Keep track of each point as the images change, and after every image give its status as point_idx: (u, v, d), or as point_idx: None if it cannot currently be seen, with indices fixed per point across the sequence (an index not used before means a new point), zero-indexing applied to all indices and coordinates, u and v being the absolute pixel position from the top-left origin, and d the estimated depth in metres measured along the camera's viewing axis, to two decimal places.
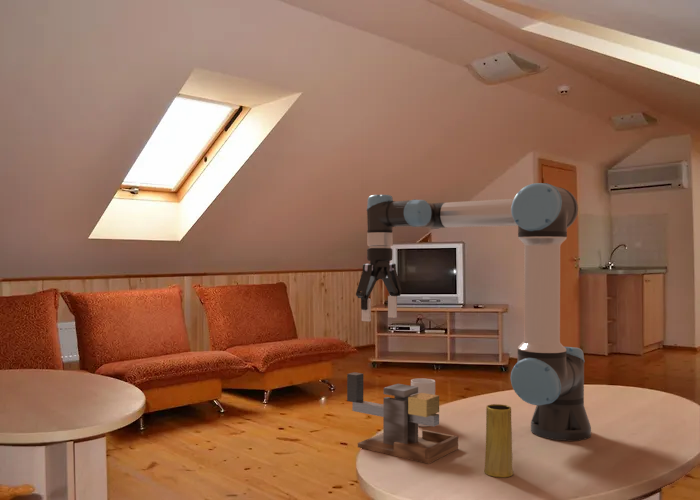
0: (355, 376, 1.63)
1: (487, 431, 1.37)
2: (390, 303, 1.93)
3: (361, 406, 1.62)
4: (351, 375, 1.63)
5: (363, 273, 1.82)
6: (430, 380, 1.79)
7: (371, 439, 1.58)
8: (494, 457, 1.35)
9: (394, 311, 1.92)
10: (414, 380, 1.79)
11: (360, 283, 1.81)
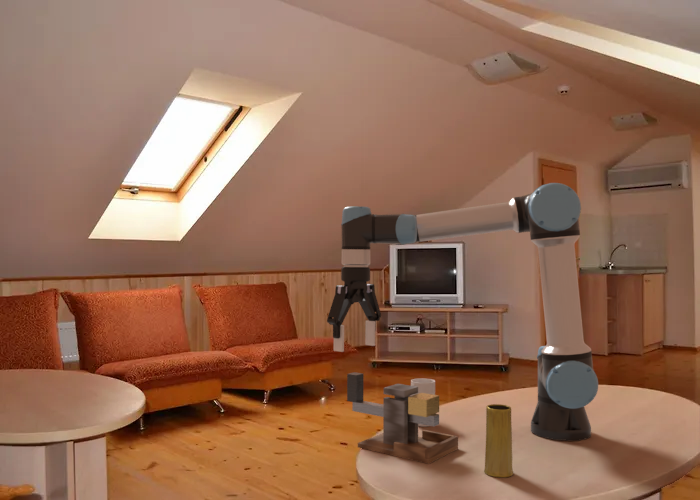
0: (355, 376, 1.63)
1: (487, 431, 1.37)
2: (368, 328, 1.70)
3: (361, 406, 1.62)
4: (351, 375, 1.63)
5: (336, 296, 1.59)
6: (430, 380, 1.79)
7: (371, 439, 1.58)
8: (494, 457, 1.35)
9: (372, 338, 1.69)
10: (414, 380, 1.79)
11: (332, 308, 1.58)
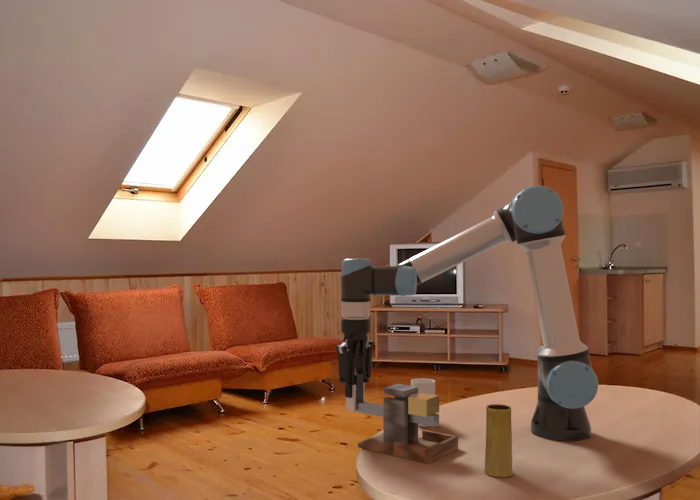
0: (355, 376, 1.63)
1: (487, 431, 1.37)
2: None
3: (361, 406, 1.62)
4: None
5: (339, 357, 1.60)
6: (430, 380, 1.79)
7: (371, 439, 1.58)
8: (493, 457, 1.35)
9: None
10: (414, 380, 1.79)
11: (340, 369, 1.61)
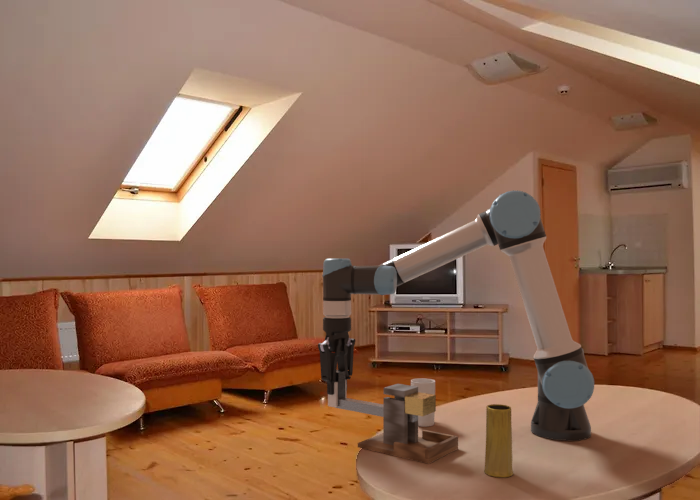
0: (337, 373, 1.66)
1: (487, 431, 1.37)
2: None
3: (343, 402, 1.65)
4: None
5: (321, 354, 1.64)
6: (430, 380, 1.79)
7: (371, 439, 1.58)
8: (494, 457, 1.35)
9: None
10: (414, 380, 1.79)
11: (322, 366, 1.64)
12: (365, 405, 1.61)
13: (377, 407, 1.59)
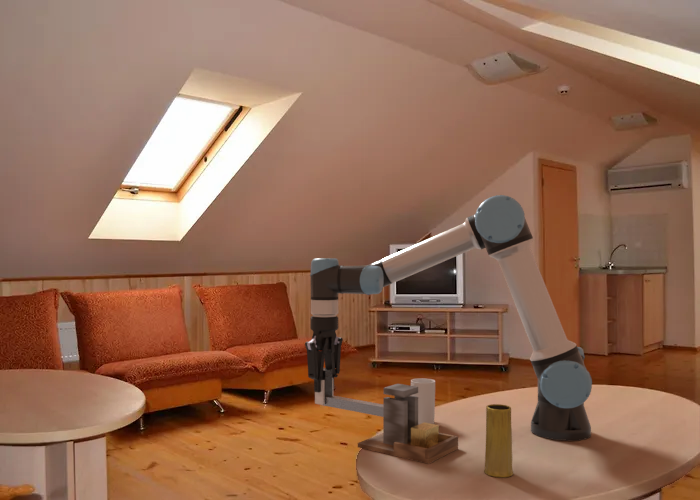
0: (324, 371, 1.69)
1: (487, 431, 1.37)
2: None
3: (330, 400, 1.68)
4: None
5: (308, 353, 1.67)
6: (430, 380, 1.79)
7: (371, 439, 1.58)
8: (493, 457, 1.35)
9: None
10: (414, 380, 1.79)
11: (309, 364, 1.67)
12: (351, 402, 1.64)
13: (363, 404, 1.61)
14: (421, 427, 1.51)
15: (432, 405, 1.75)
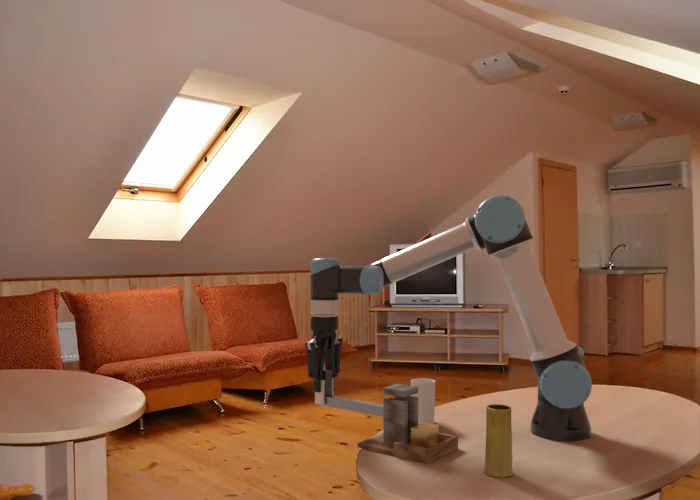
0: (324, 371, 1.69)
1: (487, 431, 1.37)
2: None
3: (330, 400, 1.68)
4: None
5: (308, 353, 1.67)
6: (430, 380, 1.79)
7: (371, 439, 1.58)
8: (494, 457, 1.35)
9: None
10: (414, 380, 1.79)
11: (309, 364, 1.67)
12: (351, 402, 1.64)
13: (363, 404, 1.62)
14: (421, 427, 1.51)
15: (432, 405, 1.75)
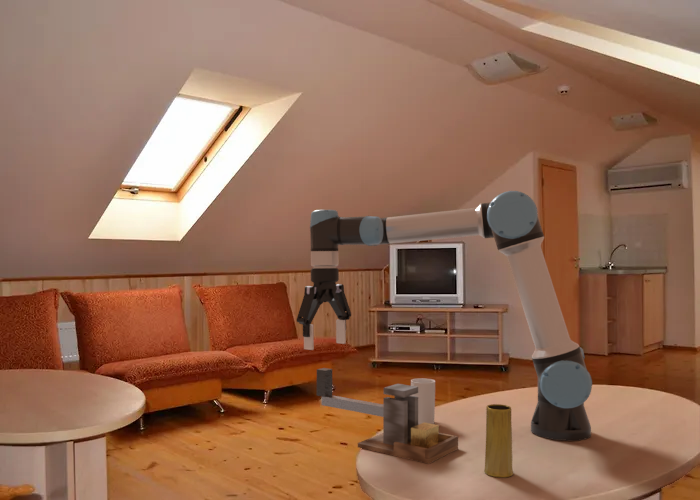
0: (324, 371, 1.69)
1: (487, 431, 1.37)
2: (338, 327, 1.76)
3: (330, 400, 1.68)
4: (320, 370, 1.70)
5: (305, 296, 1.66)
6: (430, 380, 1.79)
7: (371, 439, 1.58)
8: (494, 457, 1.35)
9: (342, 336, 1.75)
10: (414, 380, 1.79)
11: (301, 308, 1.64)
12: (351, 402, 1.64)
13: (363, 404, 1.62)
14: (421, 427, 1.51)
15: (432, 405, 1.75)
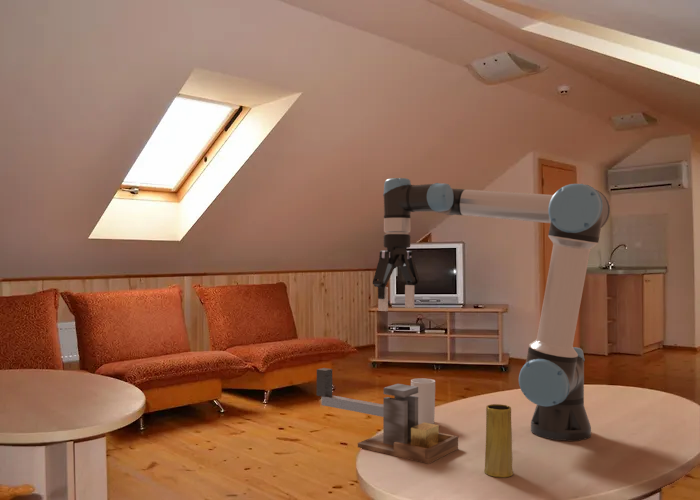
0: (324, 371, 1.69)
1: (487, 431, 1.37)
2: (407, 292, 1.84)
3: (330, 400, 1.68)
4: (320, 370, 1.70)
5: (380, 260, 1.73)
6: (430, 380, 1.79)
7: (371, 439, 1.58)
8: (494, 457, 1.35)
9: (411, 301, 1.83)
10: (414, 380, 1.79)
11: (377, 271, 1.72)
12: (351, 402, 1.64)
13: (363, 404, 1.62)
14: (421, 427, 1.51)
15: (432, 405, 1.75)
